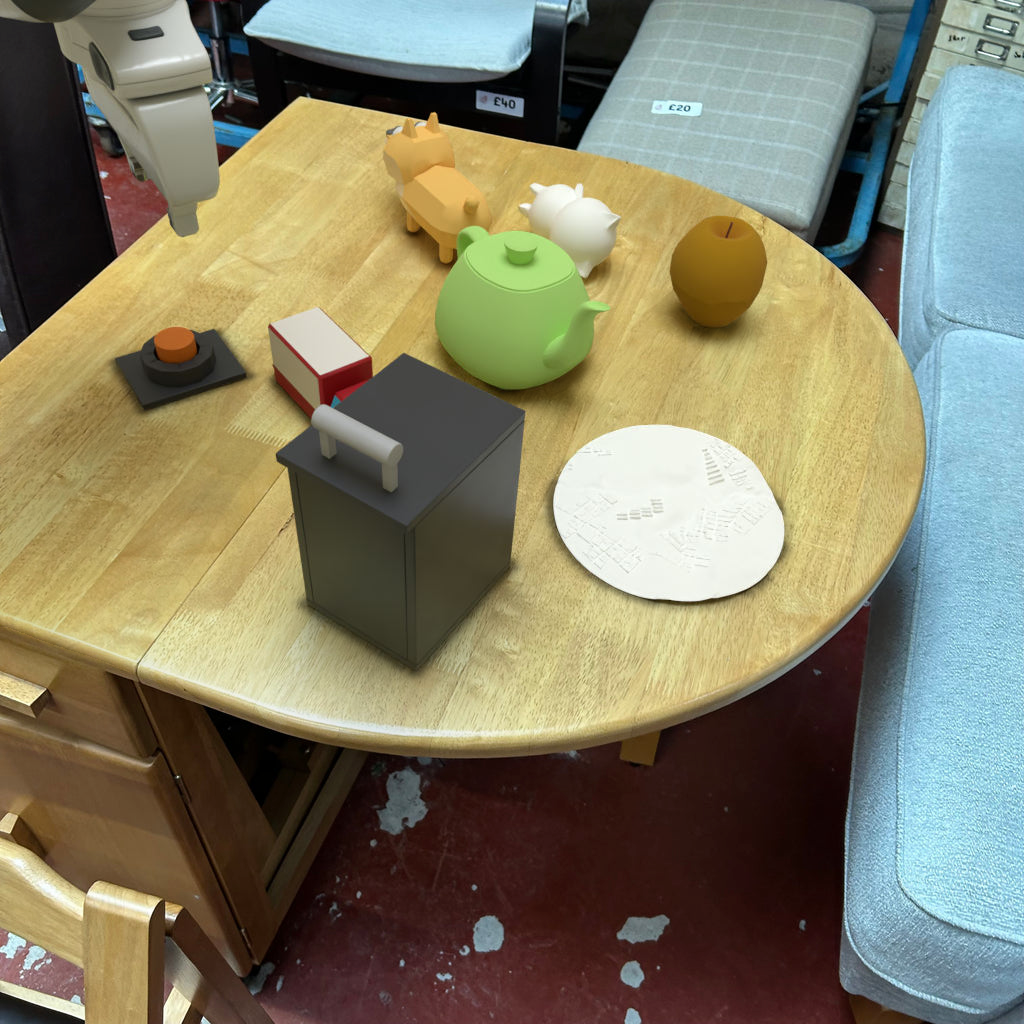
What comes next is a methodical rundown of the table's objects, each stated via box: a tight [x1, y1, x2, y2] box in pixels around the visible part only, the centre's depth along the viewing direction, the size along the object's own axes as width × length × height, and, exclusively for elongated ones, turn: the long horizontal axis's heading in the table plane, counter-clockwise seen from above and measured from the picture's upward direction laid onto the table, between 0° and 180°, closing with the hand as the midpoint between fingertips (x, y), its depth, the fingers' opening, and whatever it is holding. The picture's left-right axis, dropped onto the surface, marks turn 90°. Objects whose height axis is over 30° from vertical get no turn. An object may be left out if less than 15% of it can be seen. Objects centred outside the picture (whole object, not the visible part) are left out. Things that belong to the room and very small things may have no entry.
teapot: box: [434, 226, 612, 391], centre depth 92 cm, size 22×15×13 cm
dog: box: [382, 111, 493, 264], centre depth 107 cm, size 8×20×13 cm, turn 33°
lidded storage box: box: [286, 419, 526, 672], centre depth 70 cm, size 13×11×16 cm
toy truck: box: [267, 306, 374, 419], centre depth 87 cm, size 6×15×7 cm, turn 38°
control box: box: [114, 328, 248, 411], centre depth 91 cm, size 10×8×2 cm
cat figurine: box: [518, 182, 622, 279], centre depth 109 cm, size 9×11×12 cm
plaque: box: [552, 424, 785, 602], centre depth 83 cm, size 20×20×2 cm
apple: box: [669, 215, 768, 328], centre depth 100 cm, size 10×10×12 cm
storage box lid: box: [275, 352, 526, 534], centre depth 62 cm, size 13×11×5 cm
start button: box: [154, 326, 197, 363], centre depth 90 cm, size 4×4×2 cm
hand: (164, 203), depth 76 cm, fingers open, 8 cm apart
